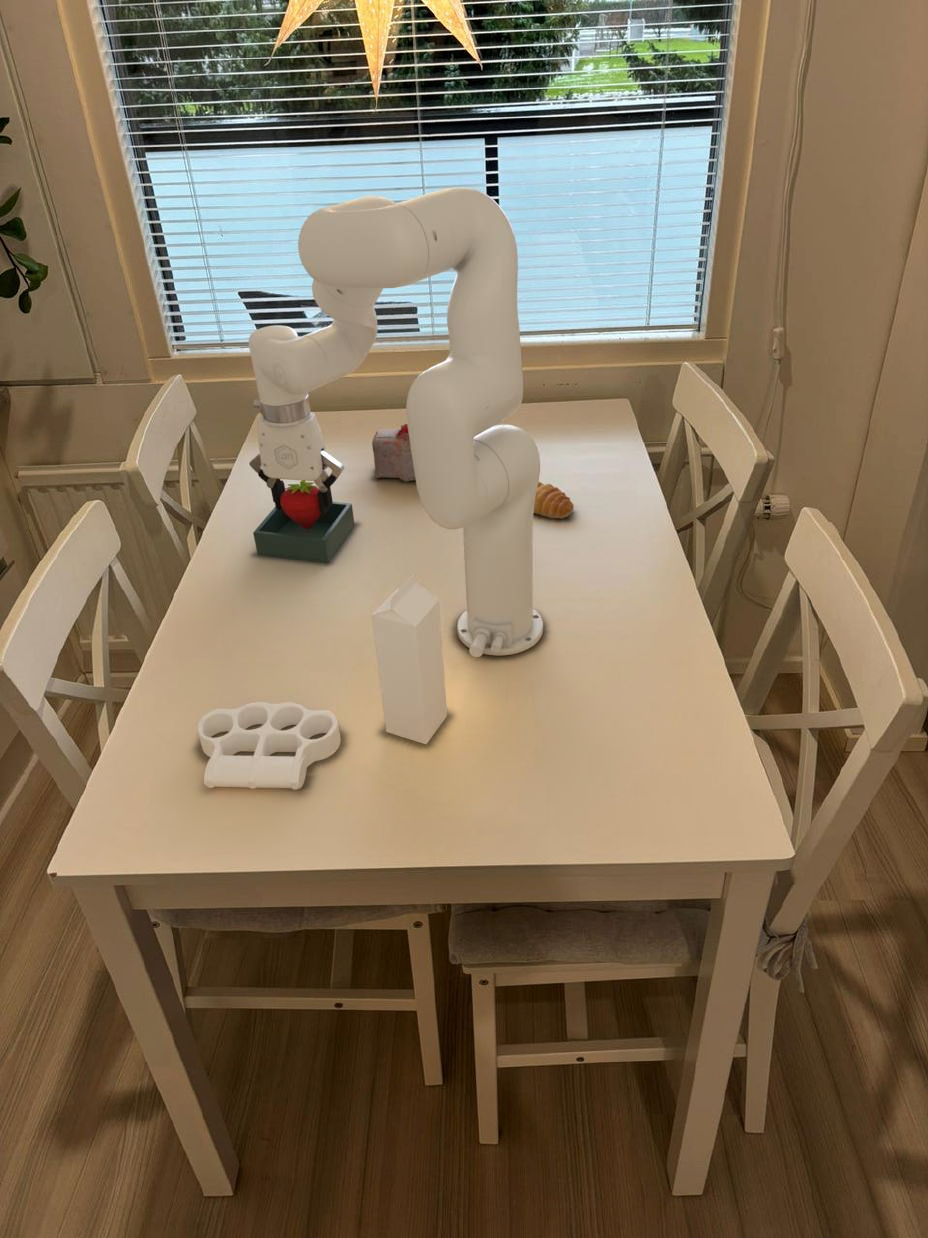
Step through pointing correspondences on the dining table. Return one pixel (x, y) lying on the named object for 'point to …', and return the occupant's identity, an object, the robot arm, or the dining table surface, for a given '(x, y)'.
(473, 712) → the dining table surface
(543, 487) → the pastry
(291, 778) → the white brass knuckles
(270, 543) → the open box
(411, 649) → the milk
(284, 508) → the strawberry
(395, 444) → the food item
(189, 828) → the dining table surface
